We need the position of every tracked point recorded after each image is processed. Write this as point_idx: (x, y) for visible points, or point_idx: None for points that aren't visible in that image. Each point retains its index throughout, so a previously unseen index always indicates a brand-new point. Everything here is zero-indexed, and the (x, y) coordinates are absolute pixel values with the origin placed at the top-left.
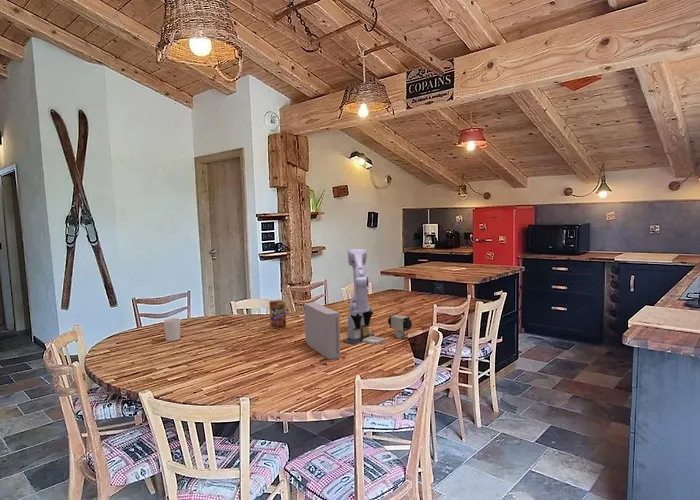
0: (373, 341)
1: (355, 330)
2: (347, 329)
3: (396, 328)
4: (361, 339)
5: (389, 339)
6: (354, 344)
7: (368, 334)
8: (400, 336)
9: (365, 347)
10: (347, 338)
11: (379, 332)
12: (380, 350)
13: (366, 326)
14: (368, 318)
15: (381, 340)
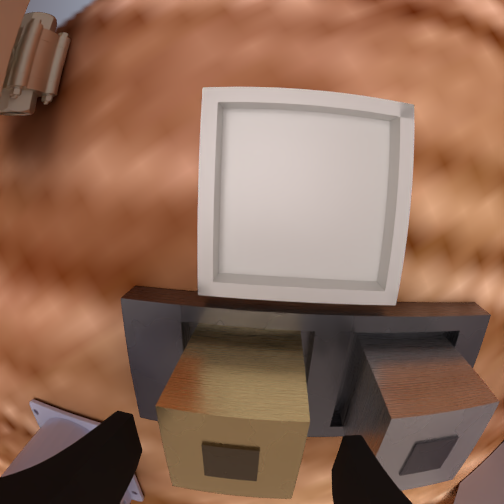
0: (400, 144)
1: (480, 410)
2: (139, 500)
3: (4, 46)
4: (388, 315)
5: (116, 108)
6: (478, 306)
7: (195, 338)
8: (56, 34)
9: (485, 183)
10: None
11: (18, 314)
12: (476, 29)
13: (206, 418)
14: (76, 491)
15: (285, 90)
